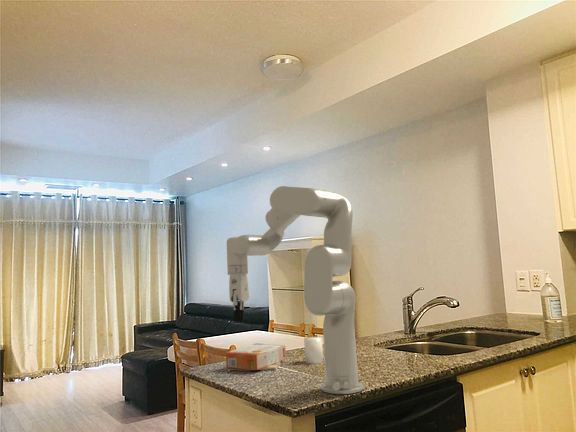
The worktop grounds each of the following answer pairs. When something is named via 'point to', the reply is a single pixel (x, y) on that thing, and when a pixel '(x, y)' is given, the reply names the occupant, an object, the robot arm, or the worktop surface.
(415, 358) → the worktop surface
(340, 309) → the robot arm
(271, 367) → the cork board
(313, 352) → the white rounded block
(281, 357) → the cracker box
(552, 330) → the worktop surface
